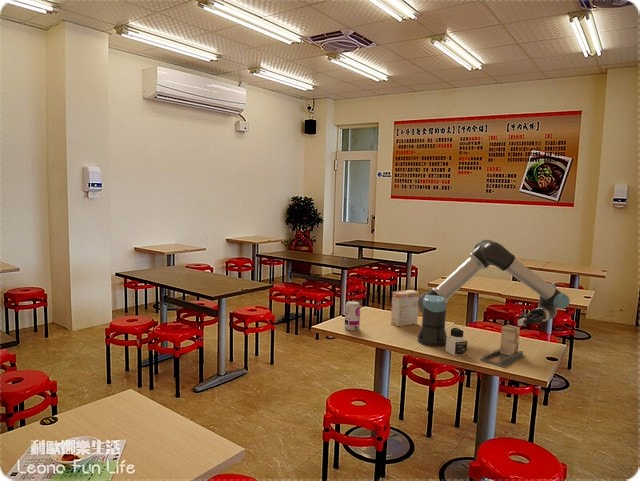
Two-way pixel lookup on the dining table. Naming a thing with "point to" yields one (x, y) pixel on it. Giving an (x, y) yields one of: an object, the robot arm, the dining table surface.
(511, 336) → the birch block
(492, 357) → the guide track
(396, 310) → the coffeecake box
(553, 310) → the robot arm
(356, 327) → the supplement can
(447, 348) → the medicine bottle
